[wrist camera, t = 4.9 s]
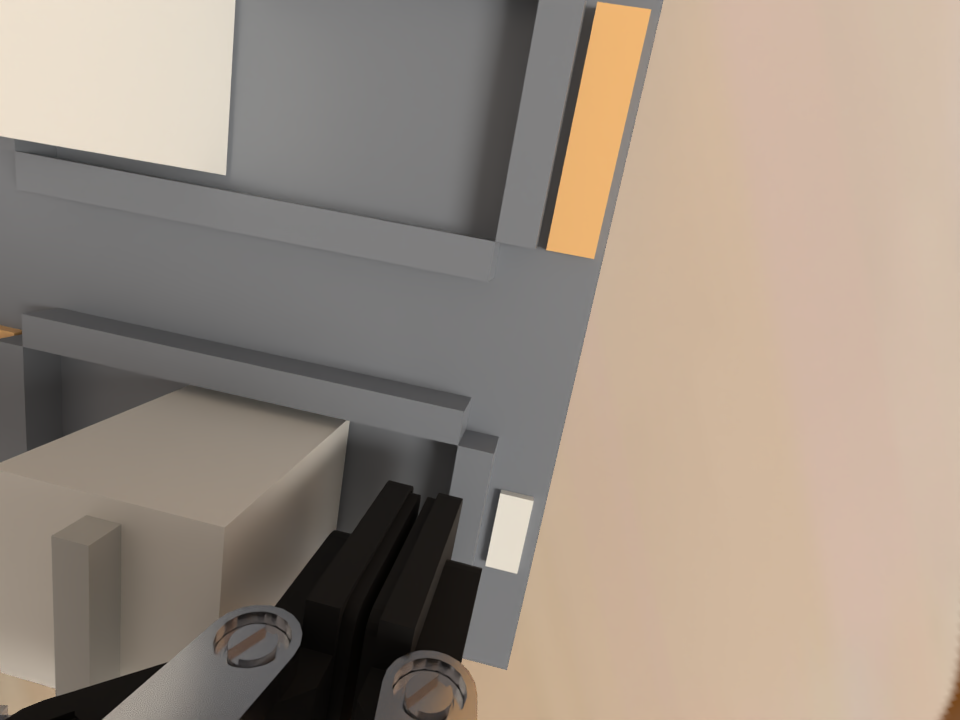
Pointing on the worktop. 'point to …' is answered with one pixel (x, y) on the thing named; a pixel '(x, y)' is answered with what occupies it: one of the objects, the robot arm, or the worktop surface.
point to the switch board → (351, 253)
